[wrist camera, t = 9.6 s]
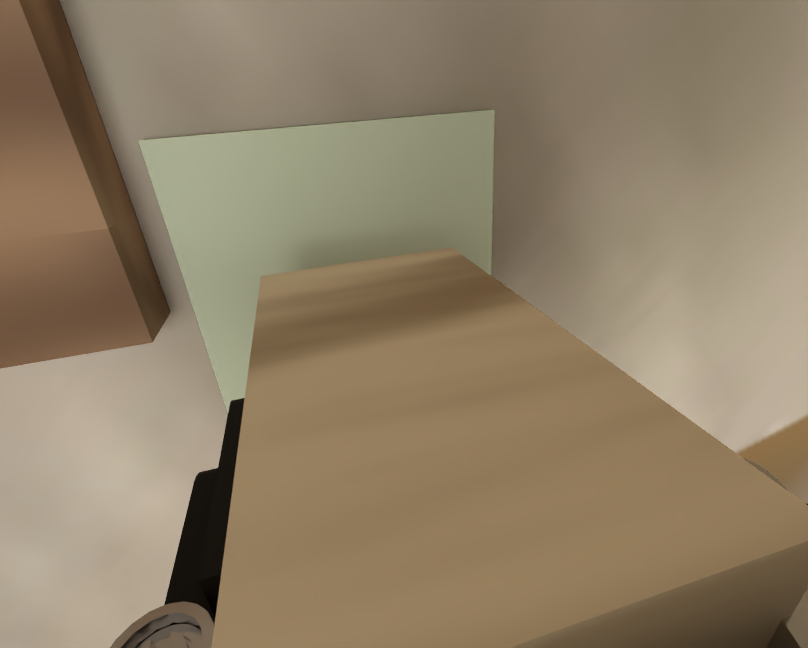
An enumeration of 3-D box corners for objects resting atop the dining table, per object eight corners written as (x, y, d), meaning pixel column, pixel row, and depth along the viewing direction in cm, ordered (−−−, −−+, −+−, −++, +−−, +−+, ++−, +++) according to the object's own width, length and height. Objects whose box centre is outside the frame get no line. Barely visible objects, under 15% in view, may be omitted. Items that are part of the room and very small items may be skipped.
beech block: (260, 276, 12) (196, 759, 3) (451, 247, 13) (839, 529, 4) (298, 433, 14) (327, 954, 5) (455, 398, 15) (698, 779, 6)
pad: (143, 139, 14) (138, 140, 13) (487, 110, 16) (494, 109, 15) (236, 428, 19) (235, 437, 19) (483, 375, 21) (489, 381, 21)
